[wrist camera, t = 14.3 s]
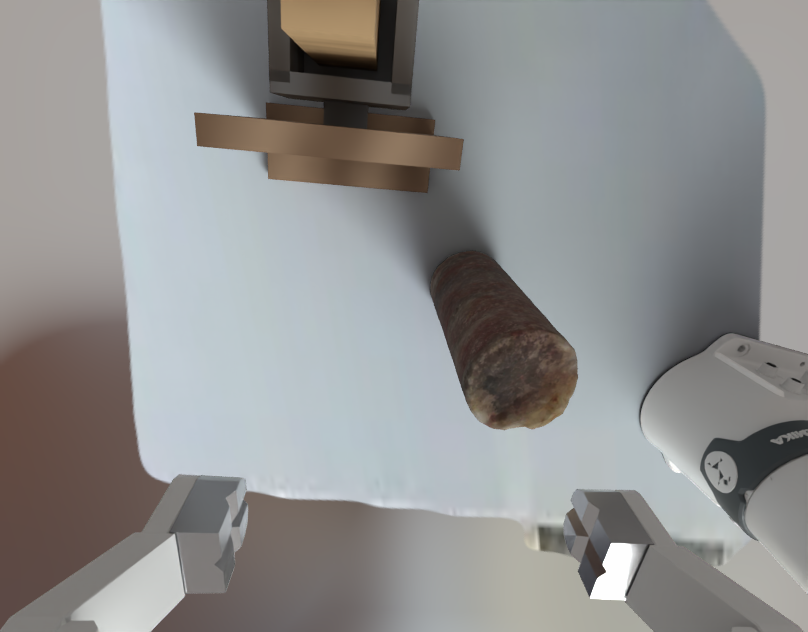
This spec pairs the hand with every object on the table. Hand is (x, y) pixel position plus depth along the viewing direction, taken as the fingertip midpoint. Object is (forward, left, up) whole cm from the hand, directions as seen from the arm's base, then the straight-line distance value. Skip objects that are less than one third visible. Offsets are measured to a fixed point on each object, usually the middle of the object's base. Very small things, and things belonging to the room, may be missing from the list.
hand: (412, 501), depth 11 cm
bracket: (+4, -11, -33) cm, 35 cm away
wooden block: (+4, -14, -26) cm, 30 cm away
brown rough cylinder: (-8, +5, -33) cm, 35 cm away
